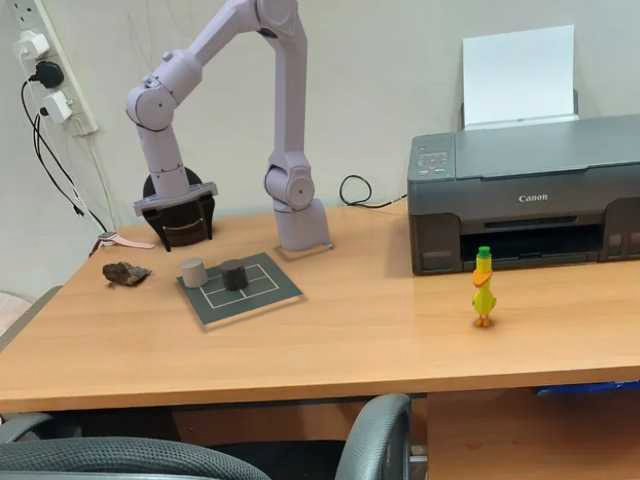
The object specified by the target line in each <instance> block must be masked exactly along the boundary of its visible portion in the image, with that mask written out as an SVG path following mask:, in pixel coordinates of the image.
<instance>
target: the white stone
mask: <svg viewBox="0 0 640 480" xmlns="http://www.w3.org/2000/svg"><path fill="white" fill-rule="evenodd" d="M178 267H179V270H180V274H181V276H182V277H183V280H184V284H185V286H186V287H188V288H196V287H200V286H203V285H205V284H206V283H207V282H208V277H207V273H206V270H205V269H206V265H205V262H204V260H203V258H201V257H197V256H194V257H188V258H185V259H182V260H181V261H180V262H179V263H178Z"/></svg>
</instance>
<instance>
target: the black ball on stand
mask: <svg viewBox="0 0 640 480" xmlns="http://www.w3.org/2000/svg"><path fill="white" fill-rule="evenodd" d="M184 168H185V172H186V175H187V179H188V182H189V185H196V184H202V183H204V182H203V181H202V179H201V178H200V177H199V176H198V174H197V173H195V171H193V170H192V169H191V168H188V167H187V166H185V165H184ZM155 194H156V190H155V187H154V184H153V181H152V178H151V175H150V174H149V175H148V177H146V178H145V182H144V184H143V189H142V199H144V198H147V197H149V196H152V195H155ZM156 211H157V212H158V214H159V216H160V218H161V221H162V225H163V228H164V232H165V235H166V238H167V240H168V243H169V245H170V247H173V248H174V247H185V246H189V245H194V244H197V243H200V242H202V241H204V240H205V239H208V238H207V237H206V234H205V230H204V226H203V221H202V217H201V214H200V211H199V207H198V204H197V202H196V200H193V201H189V202H185V203H182V204H178V205H174V206H171V207H167V208H163V209H159V210H156ZM160 243H161V244H162V245H164V244H163V242H162V240H161V239H160Z"/></svg>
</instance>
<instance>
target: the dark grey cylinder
mask: <svg viewBox="0 0 640 480" xmlns="http://www.w3.org/2000/svg"><path fill="white" fill-rule="evenodd" d="M239 259H240V258H239ZM239 259H238V258H235V259H228V260H225V261H223V262H222V263H221V264H219V265H220V266H219V268H220V272H221V276H222V280H223V283H224V287H225V289H226V290H229V291H236V290H240V289H243V288H245V287H246V286H247V285H248V284H249V282H248V278H247V274H246V270H245V266H244V262H243V261H242V260H239Z"/></svg>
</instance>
